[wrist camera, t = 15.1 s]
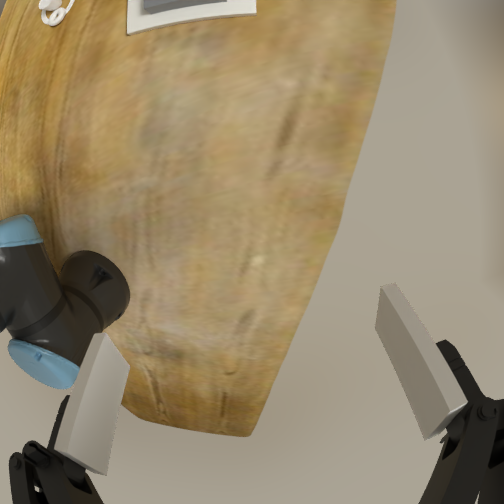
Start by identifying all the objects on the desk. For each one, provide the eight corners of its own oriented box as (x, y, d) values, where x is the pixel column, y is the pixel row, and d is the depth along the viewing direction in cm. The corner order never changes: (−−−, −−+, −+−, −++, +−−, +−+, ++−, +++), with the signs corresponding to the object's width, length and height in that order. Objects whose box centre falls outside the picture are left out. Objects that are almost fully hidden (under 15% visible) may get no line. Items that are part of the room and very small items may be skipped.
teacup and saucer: (67, 24, 26) (53, 21, 23) (37, 31, 26) (23, 29, 22) (82, -17, 22) (70, -24, 19) (50, -8, 21) (37, -13, 18)
